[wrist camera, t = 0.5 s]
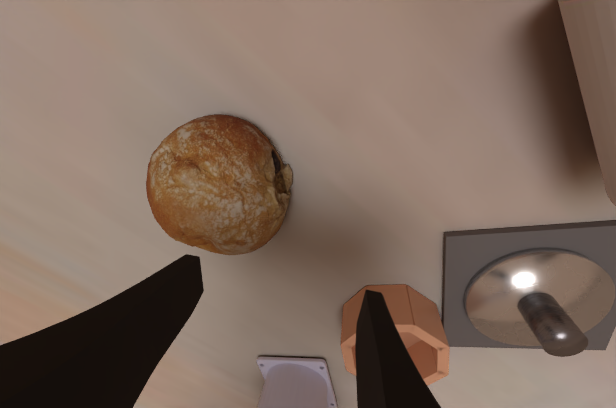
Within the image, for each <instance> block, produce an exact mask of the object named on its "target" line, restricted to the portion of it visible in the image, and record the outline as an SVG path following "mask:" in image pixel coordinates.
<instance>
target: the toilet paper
mask: <svg viewBox="0 0 616 408" xmlns="http://www.w3.org/2000/svg"><path fill="white" fill-rule="evenodd" d="M558 3H559V7H560V11H561V15H562V19H563V23H564V27H565V31H566V35H567V39H568V43H569V47H570V50H571V54H572V58H573V62H574V66H575V70H576V74H577V78H578V82H579V86H580V90H581V94H582V98H583V102H584V106H585V110H586V113H587V117H588V121H589V125H590V129H591V133H592V137H593V141H594V145H595V149H596V153H597V157H598V161H599V165H600V169H601V172H602V176H603V180H604V184H605V188H606V192H607V195H608V197H609V198H610V200H611V201H612V202H613V204H614V205H615V206H616V0H558Z"/></svg>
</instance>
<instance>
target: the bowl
mask: <svg viewBox="0 0 616 408" xmlns="http://www.w3.org/2000/svg"><path fill="white" fill-rule="evenodd" d="M366 290H371V291H376V292H381V293H382V294H383V297H384V299H385V302H386V305H387V307H388V310H389V312H390V315H391V317H392V319H393V322H394V324H395V326H396V328H397V330H398V333H399V335H400V337H401V339H402V341H403V343H404V345H405V347H406V349H407V351H408V353H409V355H410V357H411V358H412V360H413V362H414V364H415V366H416V368H417V369H418V371H419V373H420V375H421V376H422V378H423V380H424V382H425V383H426V385H429V384H431V383H433V382H435V381H437V380H439V379H441V378H443V377H445V376H447V375H448V372H449V344H448V341H447V338H446V335H445V332H444V329H443V325H442V322H441V319H440V316H439V313H438V309H437V306H436V304H435V303H433V302H432V301H430V300H429V299H427V298H426V297H424V296H423V295H421V294H420V293H418V292H417V291H415V290H414V289H412V288H411V287H409V286H408V285H406V284H403V285H367V286H365V287H364V288H363V289H362V290H360V291H359V292H358V293H357V294H356V295H355V296H353V297H352V298H351V299H350V300H349V301H348V302H346V303H345V304H344V306H343V317H342V332H341V349H342V354H343V358H344V363H345V367H346V370H347V371H348V372H350V373H352V374H354V375H355V376H356V358H355V342H356V325H357V320H358V316H359V313H360V309H361V305H362V302H363V298H364V294H365V291H366Z"/></svg>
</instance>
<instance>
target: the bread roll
mask: <svg viewBox="0 0 616 408" xmlns="http://www.w3.org/2000/svg"><path fill="white" fill-rule="evenodd" d="M292 182H293V179H292V171H291V169H290V167H289V165H288V164H286V165H284V164H283V163H282V161H281V158H280V156H279V155H278V153H277V152H276V150H275V148H274V147H273V146H272V145H271V144H270V142H269V140H268V138H267V137H266V136H264V135H263V134H262V133H261V132H260V131H259V130H258V129H257V128H256V127H255V126H254V125H252V124H251V123H249V122H247V121H245V120H242V119H240V118H237V117H233V116H229V115H208V116H203V117H200V118H197V119H194V120H191V121H190V122H188V123H186V124H184V125H182V126H180V127H178V128H177V129H176V130H174V131H173V132H172V133H171V134H170V135H169V136H167V137H166V138H165V139H164V140H163V141H162V142H161V144H160V145H159V146H158V148H157V149H156V150H155V151H154V152H153V154H152V156H151V159H150V162H149V164H148V173H147V181H146V189H147V197H148V201H149V204H150V207H151V210H152V213H153V215H154V217H155V219H156V221H157V222H158V223H159V225H160V226H161V227H162V229H163V230H164V231H165V232H166V233H167V234H168V235H169V236H170V237H172V238H173V239H175V240H176V241H180V242H182V243H185V244H187V245H190V246H192V247H193V246H196V247H198V248H202V249H205V250H208V251H210V252H214V253H219V254H225V255H238V254H245V253H249V252H252V251H254V250H257V249H258V248H260V247H262V246H263V245H265V244H266V243H267V242H268V241H269V240H270V239H271V238H272V237H273V236H274V235H275V234H276V233H277V231H278V230H279V229H280V227H281V225H282V223H283V219H284V216H285V213H286V211H287V208H288V204H289V198H290V195H291V193H290V192H289V188H290V187H291V185H292Z"/></svg>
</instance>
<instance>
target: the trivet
mask: <svg viewBox="0 0 616 408" xmlns="http://www.w3.org/2000/svg"><path fill="white" fill-rule="evenodd" d="M540 247H552V248H562V249H567V250H572V251H575V252H578V253H580V254H583V255H585V256H587V257H588V258H590V259H591V260H593V261H594V262H595V263H597V264H598V265H599V266H600V267H601V268H602V269H603V270H605V271H606V272H607V273H608V275H609V276H610V277H611V279H612V281H613V283H614V286H615V299H614V303H613V305H612V307H611V309H610V311H609V312H608V314H607V315H606V316H605V317H604V318H603V319H602V320H601V321H600V322H599V323H598V324H597V325H596V326H594V327H593V328H591V329H590V330H588V331H587V332H585V333H583V334H584V335H585V336H586V337H587V339H588V346H587V347H586V349H585V350H606V348H607V345H608V343H609V341H610V338H611V336H612V333H613V331H614V329H615V326H616V220H612V221H598V222H583V223H569V224H554V225H540V226H525V227H511V228H497V229H482V230H468V231H453V232H444V251H443V297H442V325H443V329H444V332H445V335H446V338H447V341H448V344H449V347H490V348H533V349H543V348H542V346H541V345H540V346H518V345H511V344H506V343H502V342H499V341H496V340H493V339H491V338H489V337H487V336H485V335H484V334H482V333H481V332H480V331H478V330H477V329H476V328H475V327H474V325H473V324H472V323H471V321H470V319H469V317H468V314H467V312H466V310H465V306H464V292H465V289H466V286H467V285H468V283H469V281H470V280H471V278H472V277H473V276H474V275H475V274H476V273H477V272H478V271H479V270H480V269H481V268H483V267H484V266H485V265H487V264H488V263H490V262H492V261H493V260H495V259H497V258H499V257H501V256H504V255H507V254H509V253H512V252H516V251H520V250H525V249H530V248H540Z"/></svg>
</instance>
